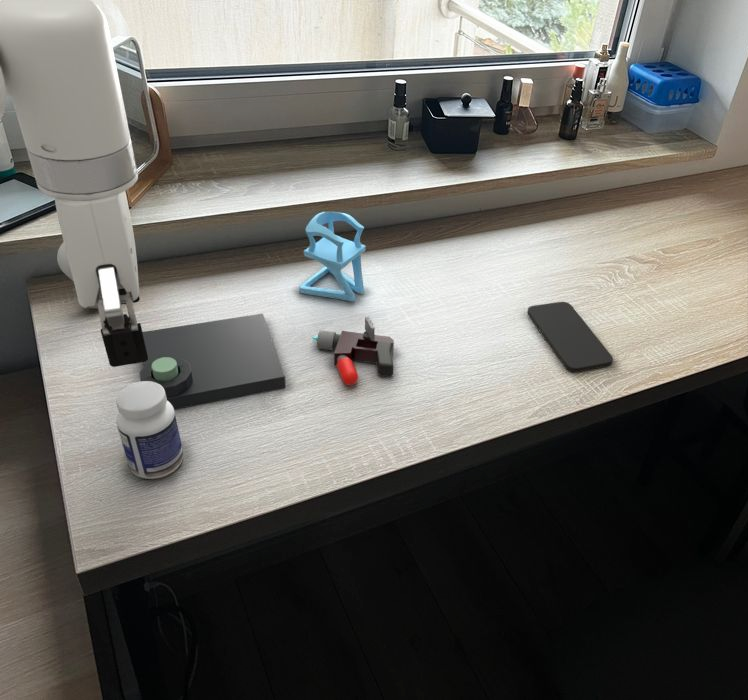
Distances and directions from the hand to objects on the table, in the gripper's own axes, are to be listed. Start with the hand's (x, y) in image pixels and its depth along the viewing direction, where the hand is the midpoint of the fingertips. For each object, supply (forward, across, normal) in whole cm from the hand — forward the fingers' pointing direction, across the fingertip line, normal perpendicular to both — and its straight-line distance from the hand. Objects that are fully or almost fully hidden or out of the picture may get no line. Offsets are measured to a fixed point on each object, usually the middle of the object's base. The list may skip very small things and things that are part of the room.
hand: (126, 331), depth 69 cm
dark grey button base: (+18, -15, +8) cm, 25 cm away
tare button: (+15, -11, +2) cm, 19 cm away
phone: (+18, -7, +57) cm, 60 cm away
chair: (+18, -28, +28) cm, 44 cm away
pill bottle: (+18, 0, 0) cm, 18 cm away
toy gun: (+18, -10, +25) cm, 33 cm away
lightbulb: (+18, -32, -5) cm, 37 cm away
